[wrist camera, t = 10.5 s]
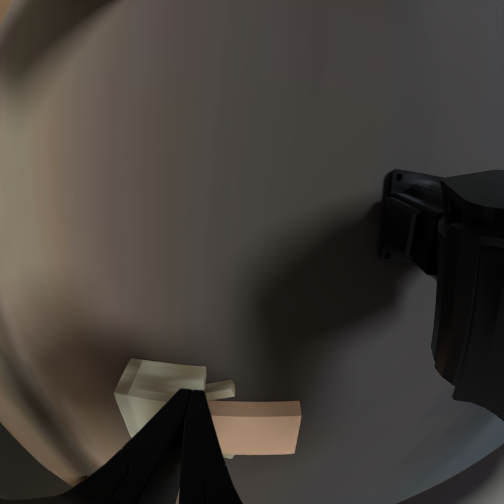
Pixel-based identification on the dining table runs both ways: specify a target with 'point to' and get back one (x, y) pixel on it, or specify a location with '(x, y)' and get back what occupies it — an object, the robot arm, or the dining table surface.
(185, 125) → the dining table surface
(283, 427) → the terracotta tile
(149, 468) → the robot arm
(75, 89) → the dining table surface
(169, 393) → the grey-green flat pronged block
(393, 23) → the dining table surface
